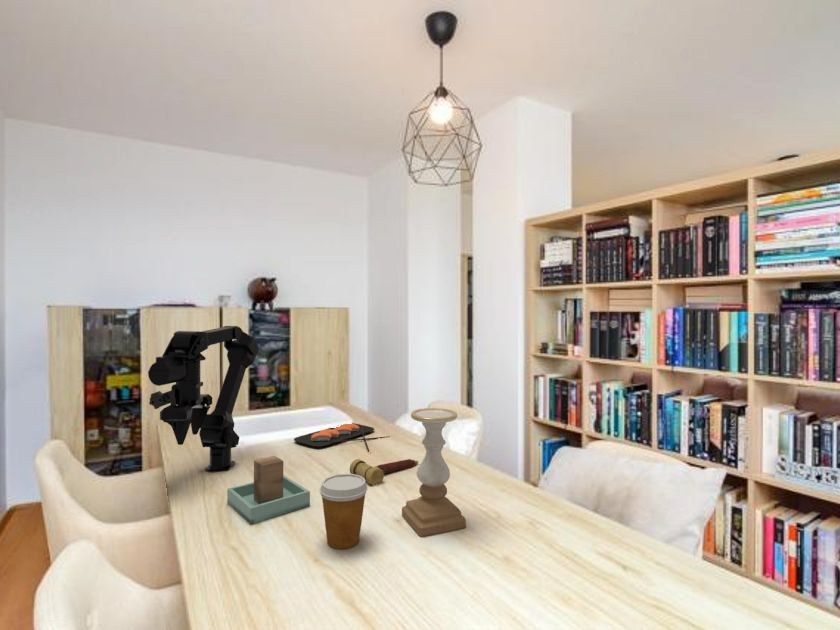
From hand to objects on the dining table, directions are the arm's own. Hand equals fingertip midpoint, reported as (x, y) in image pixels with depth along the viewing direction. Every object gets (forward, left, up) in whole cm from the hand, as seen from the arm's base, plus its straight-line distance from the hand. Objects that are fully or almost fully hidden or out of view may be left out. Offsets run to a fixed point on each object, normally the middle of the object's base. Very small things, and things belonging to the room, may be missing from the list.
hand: (188, 439), depth 118 cm
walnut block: (+14, +23, -11) cm, 29 cm away
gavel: (-6, +53, -13) cm, 55 cm away
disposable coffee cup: (+32, +42, -12) cm, 54 cm away
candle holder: (+25, +61, -12) cm, 67 cm away
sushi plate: (-37, +40, -13) cm, 56 cm away
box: (+14, +23, -12) cm, 30 cm away
